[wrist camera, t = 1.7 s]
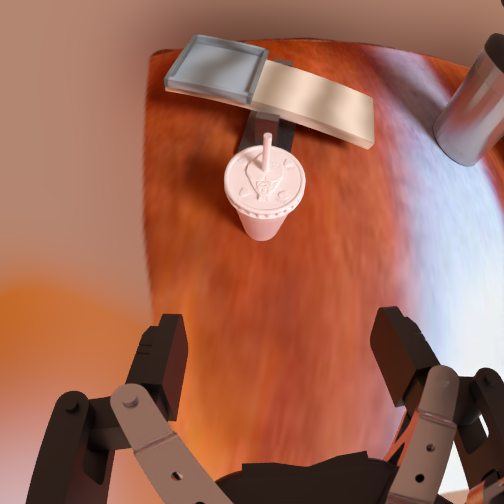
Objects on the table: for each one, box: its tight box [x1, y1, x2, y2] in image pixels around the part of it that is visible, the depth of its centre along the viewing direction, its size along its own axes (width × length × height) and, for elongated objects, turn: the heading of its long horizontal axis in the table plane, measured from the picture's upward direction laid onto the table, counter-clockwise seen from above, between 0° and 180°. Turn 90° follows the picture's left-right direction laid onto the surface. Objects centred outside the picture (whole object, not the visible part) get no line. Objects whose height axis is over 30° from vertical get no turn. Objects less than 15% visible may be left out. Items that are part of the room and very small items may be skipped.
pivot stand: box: [237, 59, 296, 153], centre depth 33 cm, size 6×14×6 cm, turn 167°
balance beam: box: [164, 34, 374, 150], centre depth 30 cm, size 24×10×3 cm, turn 77°
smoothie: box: [224, 133, 305, 241], centre depth 25 cm, size 6×6×14 cm
